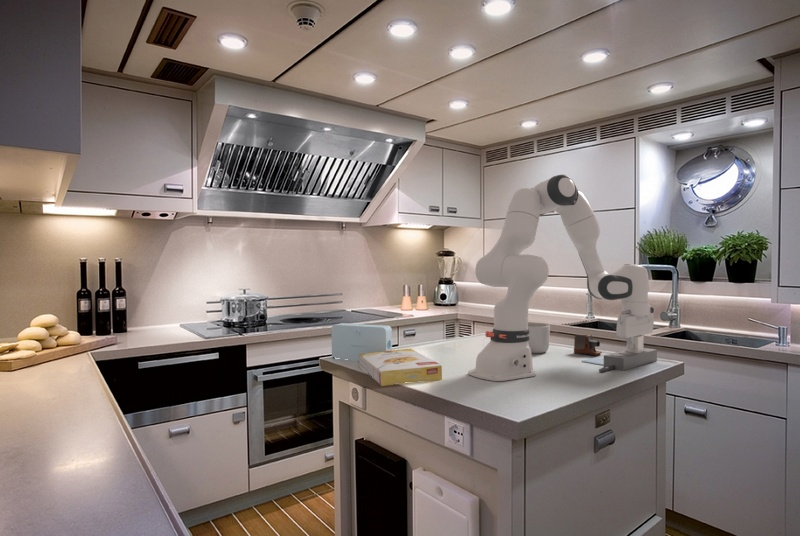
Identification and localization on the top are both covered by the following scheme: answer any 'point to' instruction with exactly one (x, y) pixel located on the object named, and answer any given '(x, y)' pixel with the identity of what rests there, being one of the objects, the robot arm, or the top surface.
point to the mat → (594, 361)
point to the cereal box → (400, 367)
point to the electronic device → (586, 345)
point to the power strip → (628, 359)
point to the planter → (539, 337)
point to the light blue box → (359, 340)
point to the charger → (637, 345)
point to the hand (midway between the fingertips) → (635, 348)
